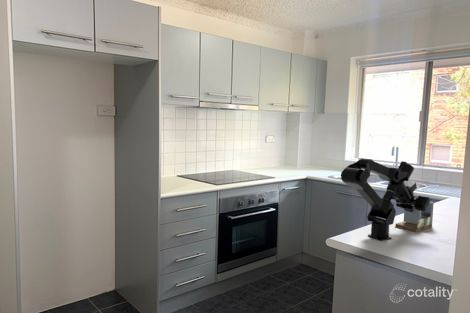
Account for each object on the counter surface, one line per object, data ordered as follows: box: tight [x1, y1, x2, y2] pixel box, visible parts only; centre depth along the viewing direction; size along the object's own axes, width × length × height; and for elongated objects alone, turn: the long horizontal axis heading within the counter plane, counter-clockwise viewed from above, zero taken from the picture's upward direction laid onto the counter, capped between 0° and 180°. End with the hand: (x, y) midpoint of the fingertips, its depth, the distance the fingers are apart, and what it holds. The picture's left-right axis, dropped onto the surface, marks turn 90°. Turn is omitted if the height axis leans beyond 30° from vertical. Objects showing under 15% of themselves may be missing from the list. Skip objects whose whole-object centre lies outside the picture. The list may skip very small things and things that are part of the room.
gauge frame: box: [395, 217, 433, 233], centre depth 159 cm, size 14×9×5 cm, turn 126°
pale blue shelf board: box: [403, 207, 428, 225], centre depth 157 cm, size 4×9×9 cm, turn 36°
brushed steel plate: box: [421, 201, 434, 225], centre depth 162 cm, size 2×9×10 cm, turn 36°
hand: (411, 211), depth 157 cm, fingers closed, pressing on pale blue shelf board
